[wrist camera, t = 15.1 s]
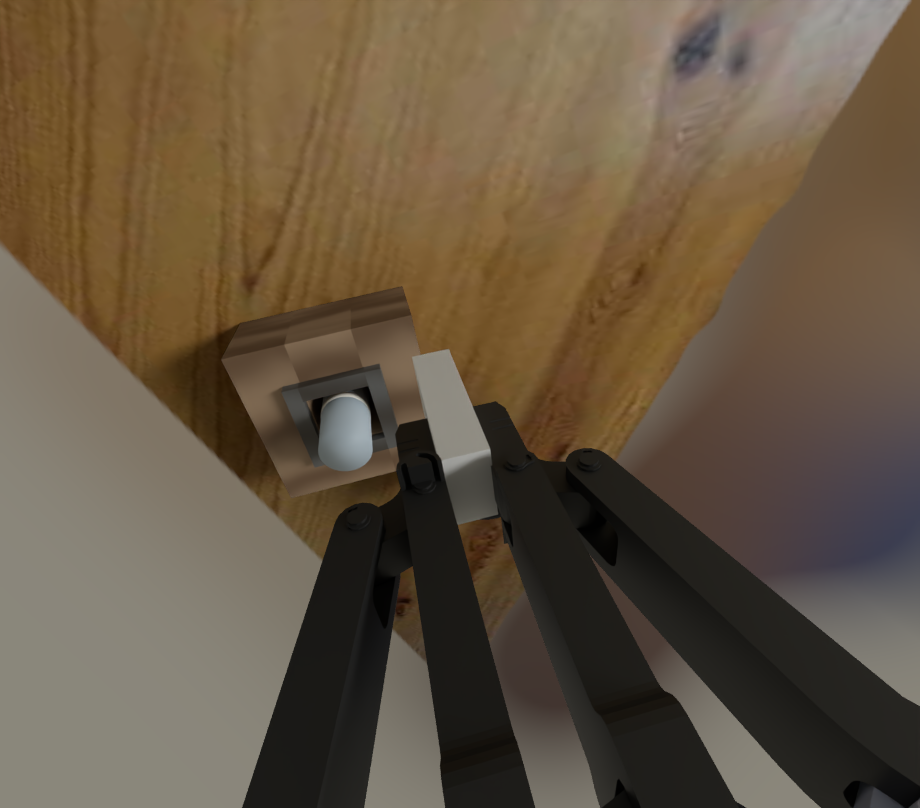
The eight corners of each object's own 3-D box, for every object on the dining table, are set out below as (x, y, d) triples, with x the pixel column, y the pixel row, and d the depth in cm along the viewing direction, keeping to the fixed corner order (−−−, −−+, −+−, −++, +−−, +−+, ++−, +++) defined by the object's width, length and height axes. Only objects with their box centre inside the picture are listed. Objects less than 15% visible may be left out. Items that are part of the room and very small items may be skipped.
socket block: (240, 323, 45) (218, 365, 37) (402, 286, 46) (412, 319, 39) (298, 450, 54) (290, 505, 46) (433, 416, 55) (446, 464, 47)
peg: (318, 367, 47) (310, 435, 37) (362, 357, 48) (365, 422, 38) (331, 403, 50) (326, 477, 40) (373, 394, 50) (378, 464, 40)
